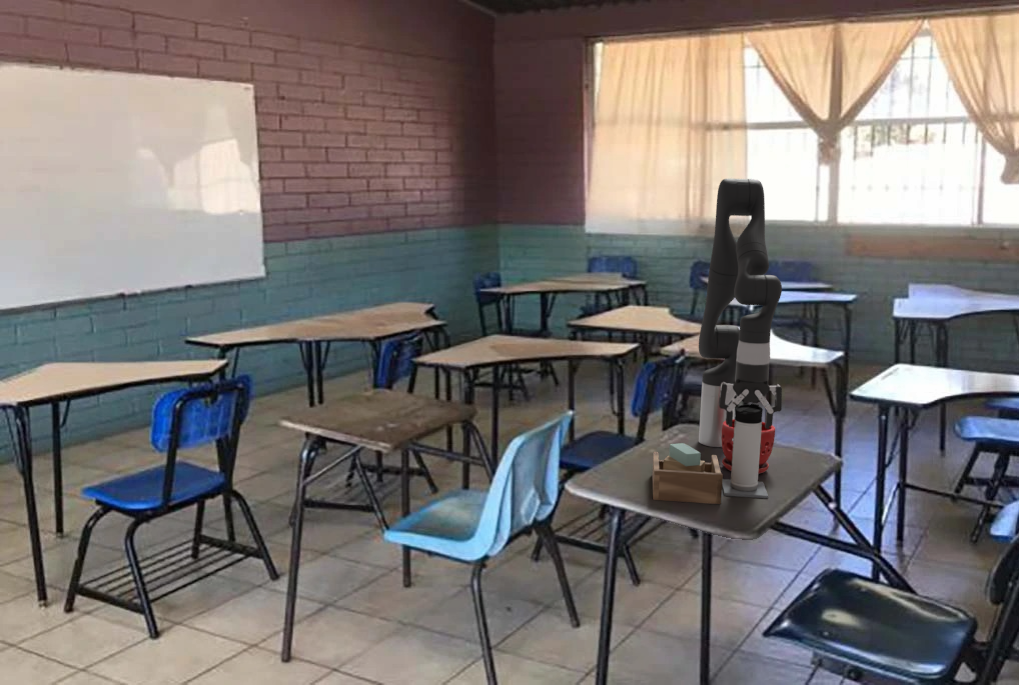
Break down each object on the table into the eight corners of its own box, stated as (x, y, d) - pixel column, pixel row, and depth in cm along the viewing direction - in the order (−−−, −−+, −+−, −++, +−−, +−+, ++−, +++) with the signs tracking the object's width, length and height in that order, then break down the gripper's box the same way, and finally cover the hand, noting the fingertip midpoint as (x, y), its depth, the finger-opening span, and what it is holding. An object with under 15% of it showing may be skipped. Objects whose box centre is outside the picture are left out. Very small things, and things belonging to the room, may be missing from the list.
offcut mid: (667, 467, 238) (668, 455, 238) (704, 472, 234) (705, 461, 234) (663, 471, 235) (663, 459, 234) (700, 477, 231) (700, 465, 230)
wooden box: (652, 474, 240) (653, 447, 239) (715, 478, 238) (716, 451, 237) (653, 499, 223) (654, 470, 222) (720, 504, 221) (722, 474, 220)
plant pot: (773, 479, 239) (777, 433, 236) (719, 475, 241) (722, 429, 239) (770, 463, 251) (773, 419, 249) (719, 459, 254) (721, 415, 251)
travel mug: (762, 486, 231) (768, 406, 227) (749, 493, 226) (755, 411, 222) (739, 480, 235) (744, 401, 231) (725, 487, 230) (730, 406, 226)
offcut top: (682, 454, 238) (683, 443, 238) (700, 464, 231) (700, 452, 230) (669, 455, 237) (669, 444, 237) (686, 466, 229) (686, 454, 229)
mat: (721, 481, 236) (721, 479, 236) (762, 484, 235) (763, 481, 235) (724, 495, 227) (724, 493, 226) (768, 498, 225) (768, 495, 225)
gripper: (782, 358, 227) (777, 424, 230) (720, 355, 229) (716, 421, 232) (786, 364, 220) (781, 433, 223) (723, 361, 222) (718, 429, 225)
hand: (748, 427), depth 228 cm, fingers open, 8 cm apart
